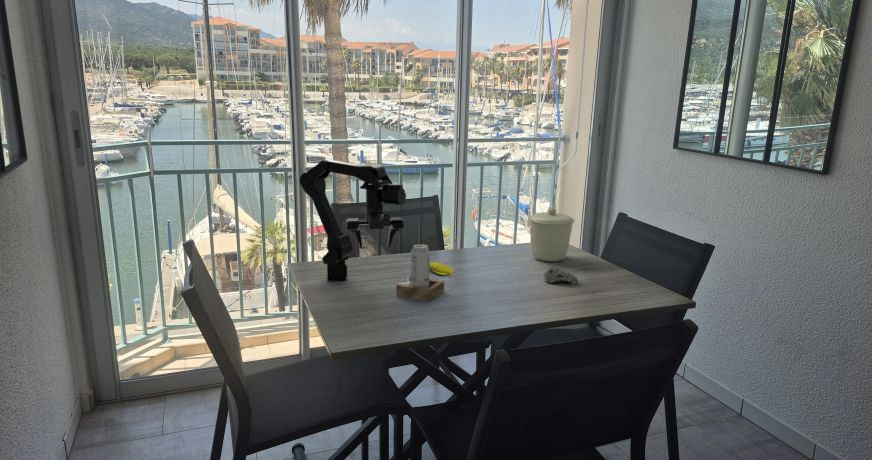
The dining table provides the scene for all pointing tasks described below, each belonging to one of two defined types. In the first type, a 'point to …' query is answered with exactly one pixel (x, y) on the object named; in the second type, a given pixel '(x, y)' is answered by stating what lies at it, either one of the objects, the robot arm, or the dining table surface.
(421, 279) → the energy drink can
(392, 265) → the dining table surface
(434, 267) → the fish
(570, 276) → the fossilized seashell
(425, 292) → the wooden tray
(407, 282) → the mounting bracket
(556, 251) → the canister
